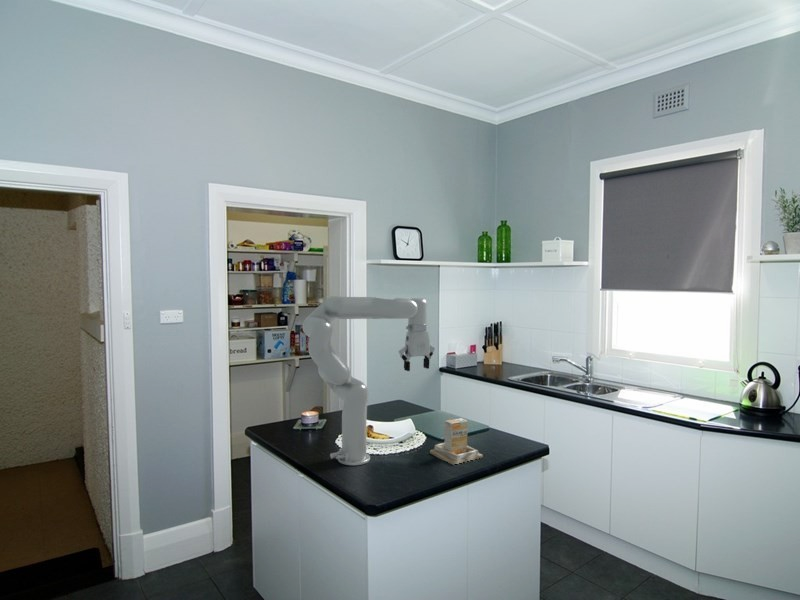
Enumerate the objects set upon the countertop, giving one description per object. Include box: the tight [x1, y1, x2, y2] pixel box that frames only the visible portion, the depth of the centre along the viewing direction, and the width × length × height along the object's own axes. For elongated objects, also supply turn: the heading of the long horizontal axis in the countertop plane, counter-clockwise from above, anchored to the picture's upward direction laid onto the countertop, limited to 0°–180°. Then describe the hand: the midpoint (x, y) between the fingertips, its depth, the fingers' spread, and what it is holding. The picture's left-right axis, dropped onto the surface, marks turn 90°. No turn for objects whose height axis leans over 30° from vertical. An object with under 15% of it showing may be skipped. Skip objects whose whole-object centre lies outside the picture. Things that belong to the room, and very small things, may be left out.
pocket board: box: [429, 442, 484, 466], centre depth 201 cm, size 15×15×3 cm
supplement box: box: [443, 417, 469, 454], centre depth 201 cm, size 8×5×13 cm, turn 120°
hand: (416, 369), depth 207 cm, fingers open, 9 cm apart
